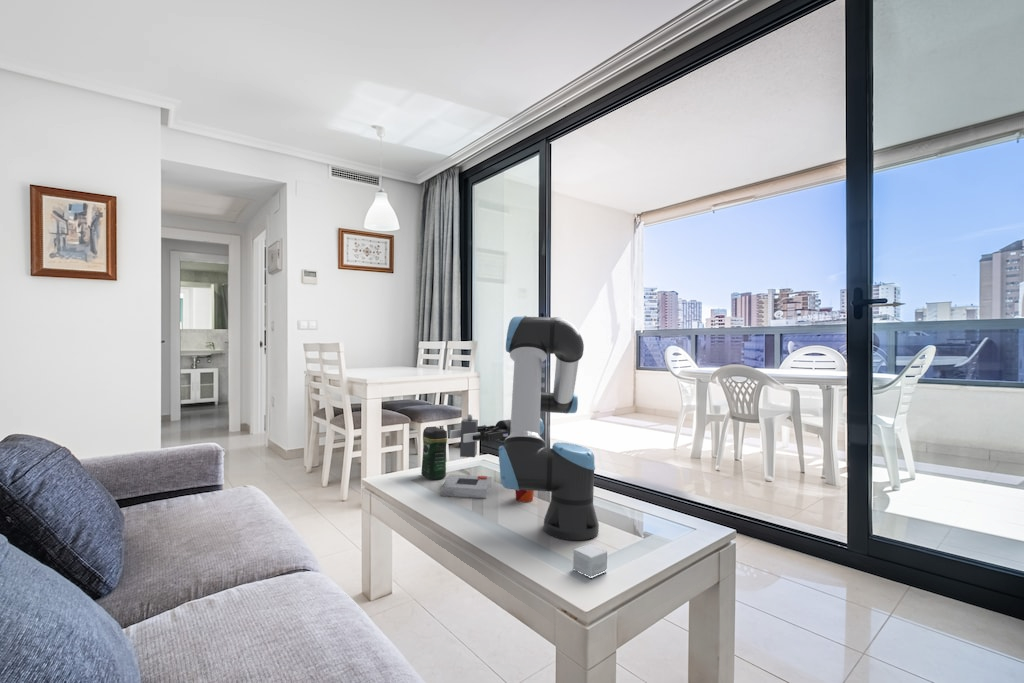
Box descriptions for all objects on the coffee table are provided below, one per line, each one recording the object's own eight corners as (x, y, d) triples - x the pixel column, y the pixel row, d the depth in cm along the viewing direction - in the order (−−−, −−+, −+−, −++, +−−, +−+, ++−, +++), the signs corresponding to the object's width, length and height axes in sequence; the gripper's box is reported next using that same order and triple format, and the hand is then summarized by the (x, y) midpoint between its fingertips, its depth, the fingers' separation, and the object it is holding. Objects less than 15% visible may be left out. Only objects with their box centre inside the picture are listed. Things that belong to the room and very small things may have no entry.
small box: (588, 563, 114) (589, 543, 114) (607, 573, 110) (608, 551, 110) (571, 570, 111) (572, 548, 111) (590, 580, 106) (591, 557, 106)
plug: (474, 457, 164) (476, 416, 164) (460, 456, 164) (461, 415, 164) (476, 454, 169) (478, 414, 169) (462, 453, 169) (464, 413, 169)
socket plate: (486, 498, 159) (486, 488, 159) (440, 495, 160) (441, 485, 160) (491, 485, 174) (491, 475, 174) (449, 482, 175) (450, 473, 175)
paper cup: (528, 504, 154) (530, 460, 154) (508, 500, 158) (509, 457, 158) (540, 498, 160) (541, 456, 161) (520, 494, 165) (521, 452, 165)
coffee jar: (449, 478, 180) (450, 428, 180) (429, 481, 175) (431, 430, 175) (437, 472, 188) (439, 424, 188) (418, 474, 183) (420, 425, 183)
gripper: (526, 445, 171) (474, 453, 156) (491, 435, 186) (440, 442, 171) (527, 424, 171) (475, 430, 156) (492, 416, 186) (441, 420, 171)
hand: (457, 436), depth 163 cm, fingers closed on plug, 7 cm apart
